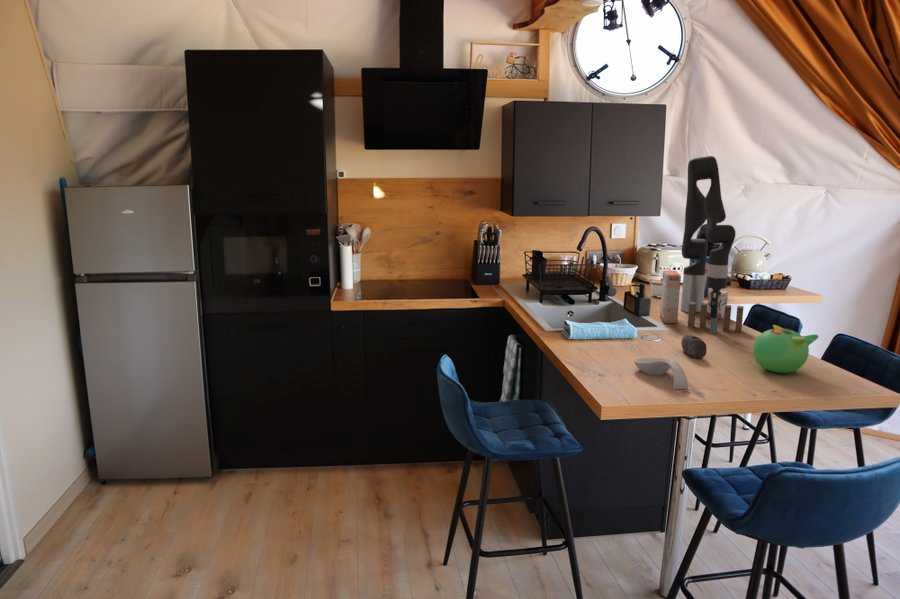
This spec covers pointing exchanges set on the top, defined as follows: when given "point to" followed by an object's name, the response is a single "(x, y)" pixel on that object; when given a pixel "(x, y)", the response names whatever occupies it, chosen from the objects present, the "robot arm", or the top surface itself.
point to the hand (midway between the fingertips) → (714, 315)
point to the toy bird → (782, 349)
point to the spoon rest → (663, 370)
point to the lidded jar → (656, 287)
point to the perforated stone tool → (694, 346)
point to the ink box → (721, 305)
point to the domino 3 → (713, 324)
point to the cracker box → (670, 296)
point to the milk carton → (706, 289)
